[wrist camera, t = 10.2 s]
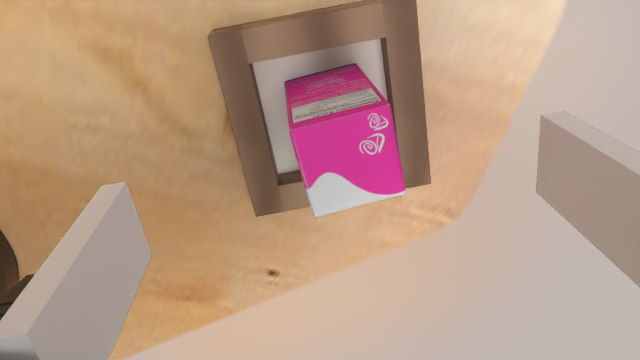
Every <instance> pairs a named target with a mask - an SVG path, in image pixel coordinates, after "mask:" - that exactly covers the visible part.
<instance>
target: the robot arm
mask: <svg viewBox="0 0 640 360" xmlns="http://www.w3.org/2000/svg"><path fill="white" fill-rule="evenodd" d="M536 192H537V193H538V194H539V195H540V196H541V197H542V198H543V199H544V200H545V201H546V202H547V203H548V204H550V205H551V206H552V207H553V208H554V209H555V210H556V211H557V212H558V213H559V214H560V215H561V216H563V217H564V218H565V219H566V220H567V221H568V222H569V223H570V224H571V225H572V226H573V227H575V228H576V229H577V230H578V231H579V232H580V233H581V234H582V235H583V236H584V237H586V238H587V239H588V240H589V241H590V242H591V243H592V244H593V245H594V246H595V247H596V248H597V249H599V250H600V251H601V252H602V253H603V254H604V255H605V256H606V257H607V258H608V259H609V260H610V261H612V262H613V263H614V264H615V265H616V266H617V267H618V268H619V269H620V270H621V271H622V272H624V273H625V274H626V275H627V276H628V277H629V278H630V279H631V280H632V281H634V282H635V283H636V284H637V285H638V286H639V287H640V152H639V151H637V150H635V149H633V148H632V147H630V146H628V145H626V144H624V143H622V142H621V141H619V140H617V139H615V138H613V137H611V136H609V135H608V134H606V133H604V132H602V131H600V130H599V129H596V128H595V127H593V126H591V125H589V124H588V123H586V122H584V121H582V120H580V119H578V118H576V117H575V116H573V115H571V114H569V113H567V112H566V111H562V112H555V113H549V114H543V115H541V122H540V136H539V152H538V167H537V183H536ZM151 256H152V253H151V250H150V248H149V245H148V242H147V239H146V236H145V233H144V230H143V228H142V225H141V222H140V219H139V216H138V213H137V210H136V208H135V205H134V202H133V199H132V196H131V193H130V190H129V188H128V185H127V182H120V183H114V184H107V185H102V186H101V187H100V188H99V190H98V191H97V192H96V194H95V195H94V196H93V198H92V199H91V200H90V202H89V203H88V204H87V206H86V207H85V208H84V210H83V211H82V212H81V214H80V215H79V216H78V218H77V219H76V220H75V222H74V223H73V224H72V226H71V227H70V228H69V230H68V231H67V232H66V234H65V235H64V236H63V238H62V239H61V240H60V242H59V243H58V244H57V246H56V247H55V248H54V250H53V251H52V252H51V254H50V255H49V256H48V258H47V259H46V260H45V262H44V263H43V264H42V266H41V267H40V268H39V270H38V271H37V272H36V274H32V275H27V276H26V277H25V278H23V279H22V280H21V281H20V282H18V271H17V265H16V261H15V258H14V255H13V253H12V251H11V249H10V247H9V245H8V243H7V241H6V240H5V239H4V237H3V236H2V234H1V233H0V360H109V358H110V355H111V353H112V351H113V348H114V346H115V343H116V341H117V338H118V336H119V334H120V331H121V329H122V326H123V324H124V321H125V319H126V317H127V314H128V312H129V309H130V307H131V304H132V302H133V300H134V297H135V295H136V292H137V290H138V287H139V285H140V283H141V280H142V278H143V275H144V273H145V270H146V268H147V266H148V263H149V261H150V258H151Z"/></svg>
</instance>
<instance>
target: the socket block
mask: <svg viewBox="0 0 640 360" xmlns="http://www.w3.org/2000/svg"><path fill="white" fill-rule="evenodd" d="M207 37H208V40H209V44H210V48H211V51H212V55H213V59H214V63H215V66H216V70H217V74H218V77H219V81H220V85H221V89H222V92H223V96H224V100H225V103H226V107H227V111H228V115H229V118H230V122H231V126H232V129H233V133H234V137H235V141H236V144H237V148H238V152H239V155H240V159H241V163H242V167H243V170H244V174H245V178H246V181H247V185H248V189H249V193H250V196H251V200H252V204H253V207H254V211H255V215H256V217H257V216H263V215H268V214H273V213H279V212H284V211H289V210H294V209H300V208H305V207H310V203H309V200H308V196H307V193H306V190H305V186H304V183H303V180H302V176H301V173H300V169H299V166H298V162H297V159H296V155H295V152H294V148H293V145H292V141H291V137H290V131H289V123H288V113H287V103H286V95H285V86H284V82H285V81H287V80H291V79H295V78H298V77H302V76H306V75H310V74H314V73H318V72H322V71H326V70H330V69H334V68H338V67H342V66H346V65H349V64H354V63H356V64H357V65H358V66H359V67H360V69H361V70H362V71H363V72H364V73H365V75H366V76H367V77H368V78H369V80H370V81H371V82H372V83H373V85H374V86H375V87H376V88H377V89H378V90H379V92H380V93H381V94H382V95H383V97H384V98H385V99H386V100H387V101H388V102H389V104H390V106H391V112H392V117H393V123H394V128H395V133H396V139H397V144H398V149H399V154H400V160H401V166H402V171H403V176H404V182H405V188H410V187H416V186H421V185H426V184H431V177H430V165H429V153H428V141H427V129H426V116H425V104H424V92H423V80H422V68H421V55H420V43H419V31H418V19H417V7H416V0H364V1H359V2H354V3H348V4H343V5H338V6H333V7H328V8H322V9H317V10H312V11H307V12H302V13H297V14H291V15H286V16H281V17H276V18H271V19H266V20H260V21H255V22H250V23H245V24H240V25H234V26H229V27H224V28H219V29H214V30H213V31H212V32H211V33H210V34H209V35H208V36H207Z"/></svg>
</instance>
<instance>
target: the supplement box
mask: <svg viewBox="0 0 640 360" xmlns="http://www.w3.org/2000/svg"><path fill="white" fill-rule="evenodd" d="M284 86H285V95H286V103H287V113H288V123H289V131H290V137H291V141H292V145H293V148H294V152H295V155H296V159H297V162H298V166H299V169H300V173H301V176H302V180H303V183H304V186H305V190H306V193H307V196H308V200H309V203H310V207H311V210H312V213H313V216H314V217H319V216H323V215H326V214H330V213H333V212H337V211H341V210H344V209H348V208H352V207H355V206H359V205H363V204H367V203H371V202H375V201H379V200H383V199H387V198H391V197H395V196H399V195H403V194H405V193H406V188H405V182H404V176H403V171H402V166H401V160H400V154H399V149H398V144H397V139H396V133H395V128H394V123H393V117H392V112H391V106H390V104H389V102H388V101H387V100H386V99H385V98H384V97H383V95H382V94H381V93H380V92H379V90H378V89H377V88H376V87H375V86H374V85H373V83H372V82H371V81H370V80H369V78H368V77H367V76H366V75H365V73H364V72H363V71H362V70H361V69H360V67H359V66H358V65H357V64H356V63H354V64H349V65H346V66H342V67H338V68H334V69H330V70H326V71H322V72H318V73H314V74H310V75H306V76H302V77H298V78H295V79H291V80H287V81H285V82H284Z"/></svg>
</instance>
